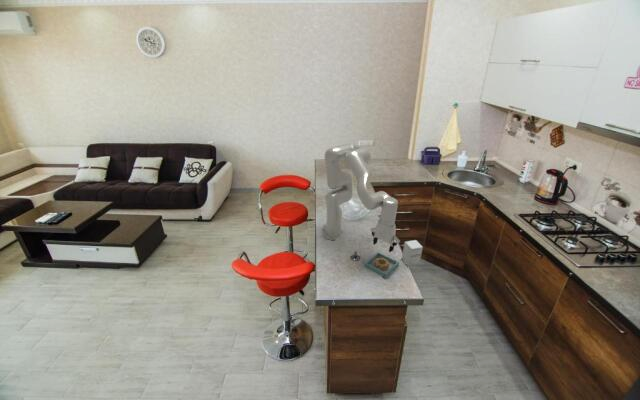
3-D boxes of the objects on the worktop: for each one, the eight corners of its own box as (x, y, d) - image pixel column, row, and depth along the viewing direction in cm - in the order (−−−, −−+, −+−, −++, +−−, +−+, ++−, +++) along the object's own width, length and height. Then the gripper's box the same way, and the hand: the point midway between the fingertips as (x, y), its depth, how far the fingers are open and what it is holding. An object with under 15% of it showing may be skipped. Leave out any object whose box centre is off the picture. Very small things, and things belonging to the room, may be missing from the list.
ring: (372, 266, 169) (373, 262, 168) (379, 260, 174) (379, 256, 172) (383, 272, 165) (384, 267, 164) (390, 265, 170) (390, 261, 168)
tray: (364, 267, 169) (364, 263, 168) (377, 256, 178) (377, 251, 177) (385, 279, 161) (386, 274, 160) (398, 266, 170) (399, 262, 169)
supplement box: (407, 267, 170) (411, 248, 164) (401, 259, 176) (404, 241, 170) (419, 265, 172) (423, 246, 166) (412, 257, 178) (416, 239, 172)
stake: (347, 259, 175) (348, 252, 173) (353, 254, 179) (354, 247, 177) (356, 263, 172) (357, 256, 170) (362, 259, 176) (363, 252, 174)
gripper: (369, 217, 158) (365, 243, 167) (398, 230, 148) (393, 257, 157) (376, 211, 163) (373, 237, 172) (406, 224, 154) (400, 251, 162)
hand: (382, 247), depth 164 cm, fingers open, 9 cm apart
